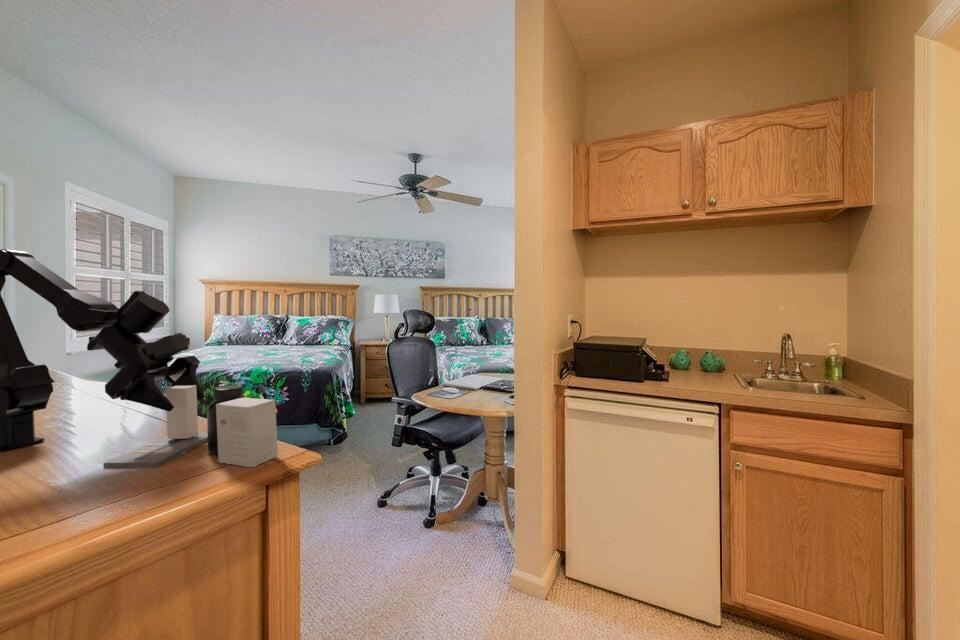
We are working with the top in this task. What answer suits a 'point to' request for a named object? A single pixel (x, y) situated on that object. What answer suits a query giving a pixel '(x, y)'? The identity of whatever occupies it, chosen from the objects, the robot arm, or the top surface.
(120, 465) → the board
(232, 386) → the supplement bottle
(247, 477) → the top surface
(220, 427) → the small box
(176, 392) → the fader tab
